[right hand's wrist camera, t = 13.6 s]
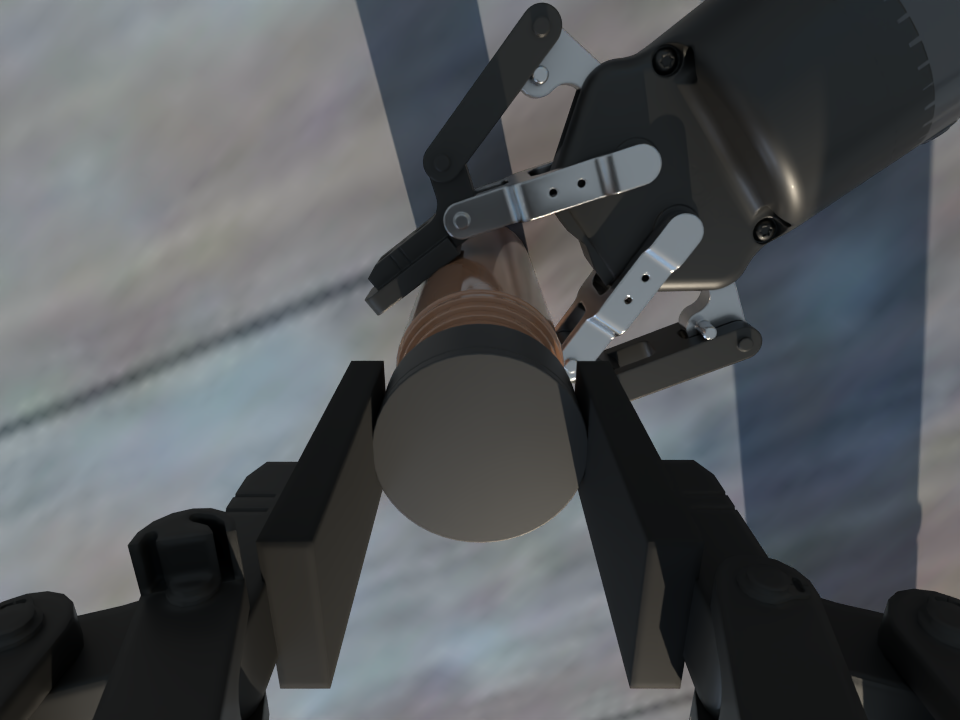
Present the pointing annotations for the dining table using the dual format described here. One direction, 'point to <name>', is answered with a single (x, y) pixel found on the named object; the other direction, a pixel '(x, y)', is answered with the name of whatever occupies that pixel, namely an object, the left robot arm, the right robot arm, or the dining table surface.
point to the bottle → (483, 294)
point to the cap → (480, 434)
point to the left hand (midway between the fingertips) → (423, 355)
